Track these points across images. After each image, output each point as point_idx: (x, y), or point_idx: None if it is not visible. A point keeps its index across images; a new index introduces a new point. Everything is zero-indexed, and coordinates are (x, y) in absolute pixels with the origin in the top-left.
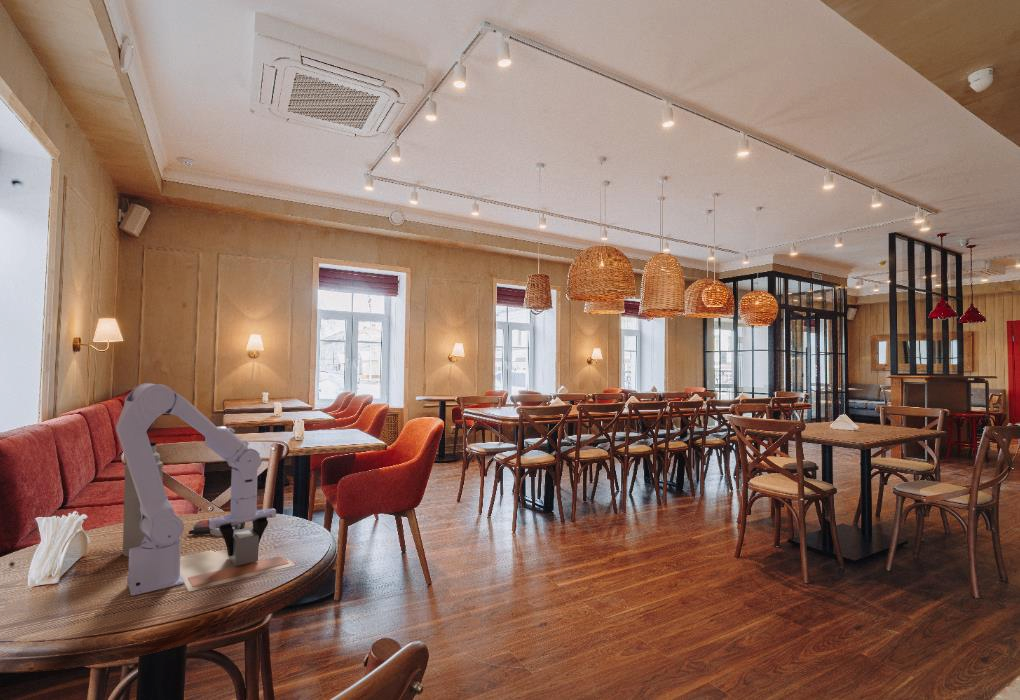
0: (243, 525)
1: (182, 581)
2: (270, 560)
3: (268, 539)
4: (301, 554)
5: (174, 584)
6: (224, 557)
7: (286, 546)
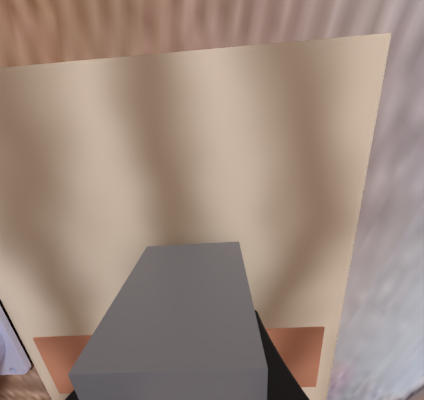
0: None
1: (22, 370)
2: (279, 344)
3: (391, 55)
4: (385, 340)
5: (5, 373)
6: (139, 223)
7: (395, 234)
